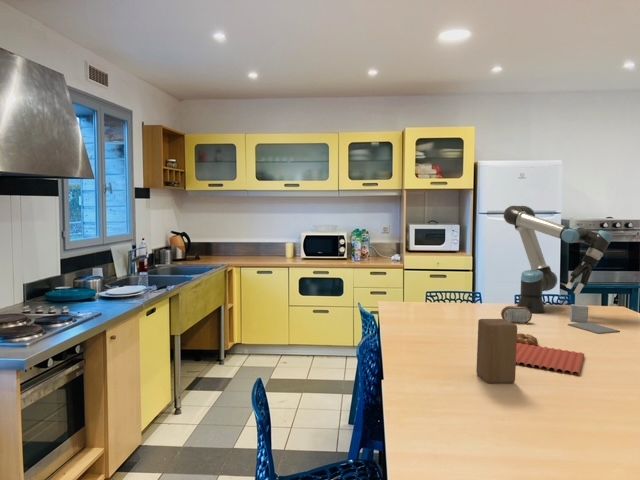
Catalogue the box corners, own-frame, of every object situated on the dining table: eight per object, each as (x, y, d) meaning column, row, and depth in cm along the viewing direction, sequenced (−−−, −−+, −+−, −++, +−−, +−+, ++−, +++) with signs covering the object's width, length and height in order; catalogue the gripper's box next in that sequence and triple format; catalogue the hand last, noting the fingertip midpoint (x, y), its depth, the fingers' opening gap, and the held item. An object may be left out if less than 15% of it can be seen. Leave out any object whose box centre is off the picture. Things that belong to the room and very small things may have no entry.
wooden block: (475, 373, 169) (477, 318, 167) (502, 373, 170) (504, 318, 168) (487, 384, 159) (489, 325, 157) (516, 383, 160) (518, 325, 158)
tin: (530, 322, 250) (530, 306, 249) (532, 323, 247) (533, 307, 246) (500, 321, 251) (501, 305, 251) (502, 322, 248) (502, 306, 247)
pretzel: (532, 349, 201) (533, 340, 201) (506, 344, 209) (507, 336, 208) (541, 343, 210) (542, 335, 210) (516, 338, 218) (517, 330, 217)
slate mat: (567, 325, 245) (567, 323, 245) (588, 323, 249) (588, 322, 249) (598, 333, 228) (598, 332, 228) (619, 331, 233) (619, 330, 232)
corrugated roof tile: (579, 378, 168) (579, 372, 168) (496, 363, 183) (496, 358, 183) (584, 357, 192) (584, 352, 192) (510, 346, 207) (510, 341, 206)
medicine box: (586, 321, 255) (586, 305, 254) (587, 323, 250) (588, 306, 250) (569, 319, 257) (570, 304, 257) (571, 321, 253) (571, 305, 252)
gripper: (592, 253, 250) (571, 288, 251) (604, 266, 267) (585, 299, 268) (578, 248, 255) (558, 282, 257) (591, 261, 272) (572, 293, 274)
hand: (572, 291), depth 263 cm, fingers open, 13 cm apart
